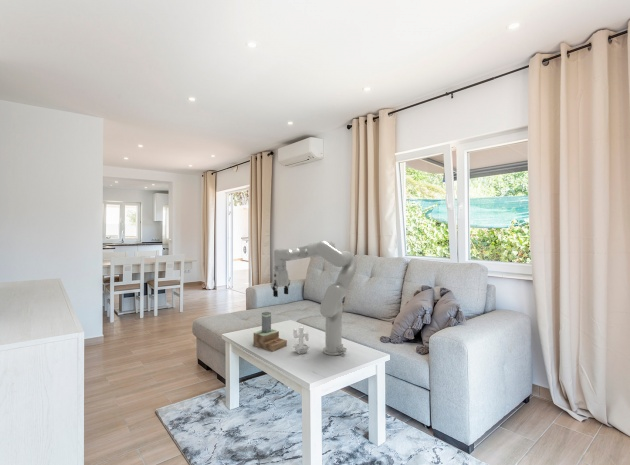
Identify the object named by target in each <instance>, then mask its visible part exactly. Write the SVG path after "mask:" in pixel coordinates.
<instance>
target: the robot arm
mask: <svg viewBox="0 0 630 465" xmlns="http://www.w3.org/2000/svg"><path fill="white" fill-rule="evenodd" d="M317 257H321V258H323V259H324V260H325V261H327V262H328V263H330V264H331V265H333V266H334V267H337V268H341V269H340V271H339V273H338V275H337V277H336V280H335V282H334V283H331V284H330V285H328V287H327V289H326V290H325V292H324V295H323V298H322V300H321V302H320V306H319V312H320V314H321V316H322V317H323V318H325V327H324V328H325V333H324V334H325V338H324V339H325V343H324V344H325V346H324V347H323V348H322V353H324V354H325V355H329V356H339V355H343V354H345V353H346V352H347V350H348V349H347V347H344V344H343V343H342V342H343V341H342V340H343V339H342V338H343V337H342V327H343V310H344V307H343V306H344V305H343V302H342V299H343V298H345V297H346V296H347V294H348V292H349V290H350V287H351V285H352V282H353V279H354V277H355V274H356V273H357V272H356V271H357V265H358V264H357V260H356V257H355V255H354V254H353V253H352V252H350V251H348V250H341V251H339V250H338V249H336V245H335V243H334V242H333V241H332V240H328V239H327V240H321V241H318V242H313V243H308V244H307V245H303V246H298V247H292V248H291V247H290V248H275V249H274V250H273V266H274V267H273V269H274V271H273V276H272V282H271V283H270V284H269V285H270V289H272V293H273V294H272V295H273V297H275V298H278V297H279V295H278V294H279V292H278V291H279V290H278V289H279V288H282V287H283V294H284V295H289V289H290V285H291V280H290V278H289V272H288V269H287V262H290V261H295V260H300V259H307V258H309V259H312V258H317Z"/></svg>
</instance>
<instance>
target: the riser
mask: <svg viewBox="0 0 630 465" xmlns="http://www.w3.org/2000/svg"><path fill="white" fill-rule="evenodd" d="M279 334H280V331H279V330H276V329H272V328H271V332H269V333H263V332H262V329H261V330H258V331H254V332H253V346H255V347H258V348H261V349H263V350H267V351H270V352H276V351H278V350H280V349H282V348H285V347H287V346H288V342H287V340H286V339H284V338H280V335H279Z"/></svg>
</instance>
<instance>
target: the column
mask: <svg viewBox="0 0 630 465" xmlns="http://www.w3.org/2000/svg"><path fill="white" fill-rule="evenodd" d="M271 329H272V312H269V311H264V312H261V330H262V332H263V333H269V332H271Z"/></svg>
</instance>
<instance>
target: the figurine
mask: <svg viewBox="0 0 630 465" xmlns="http://www.w3.org/2000/svg"><path fill="white" fill-rule="evenodd" d="M297 331H298V332H297ZM292 335H293V338H294V339H298V344H296V343H295V344H293V345H292V347H293V348H294V350H295V352H296V353H297V354H298V355H303V354H307V352H308V350H309V348H310V346H308V345H307V344H306V343H304V337H305V341H306V342H308V341H309V332H308V331H304V326H302V325H299V326H298V330H297V328H293V334H292Z"/></svg>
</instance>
